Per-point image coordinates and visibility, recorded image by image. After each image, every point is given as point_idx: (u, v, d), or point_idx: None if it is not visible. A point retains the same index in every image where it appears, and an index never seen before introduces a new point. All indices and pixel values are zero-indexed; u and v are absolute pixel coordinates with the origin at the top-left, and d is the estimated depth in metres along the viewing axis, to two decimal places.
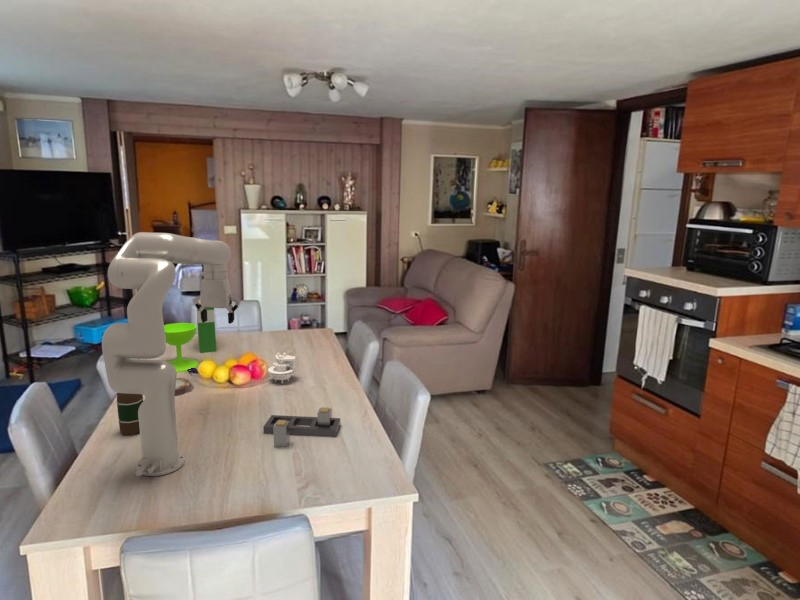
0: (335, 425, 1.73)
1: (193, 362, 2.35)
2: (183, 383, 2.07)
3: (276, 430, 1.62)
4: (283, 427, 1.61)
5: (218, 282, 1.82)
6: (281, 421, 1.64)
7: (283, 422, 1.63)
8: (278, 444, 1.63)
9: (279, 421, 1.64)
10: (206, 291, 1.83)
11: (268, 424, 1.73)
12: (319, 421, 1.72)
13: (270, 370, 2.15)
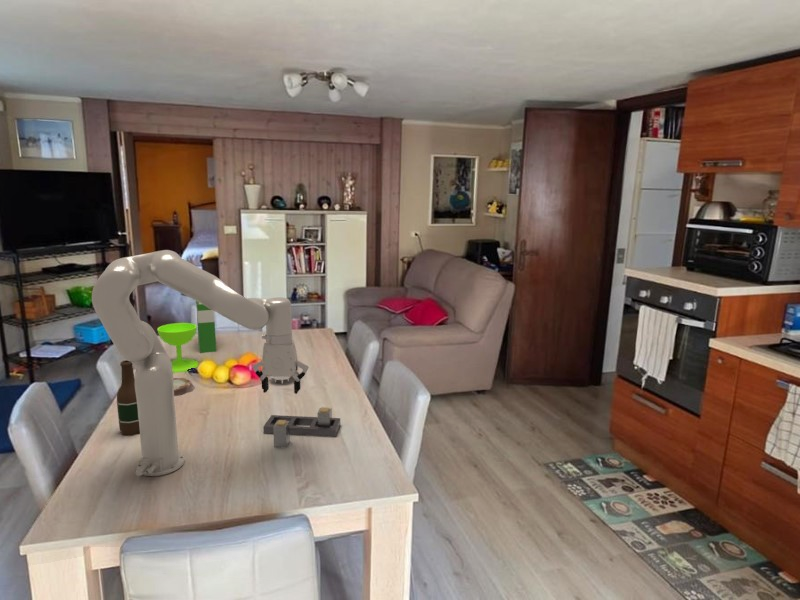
0: (335, 425, 1.73)
1: (193, 362, 2.35)
2: (184, 383, 2.07)
3: (276, 430, 1.62)
4: (283, 427, 1.61)
5: (283, 347, 1.55)
6: (281, 421, 1.64)
7: (283, 422, 1.63)
8: (278, 444, 1.63)
9: (279, 421, 1.64)
10: (270, 357, 1.56)
11: (268, 424, 1.73)
12: (319, 421, 1.72)
13: None
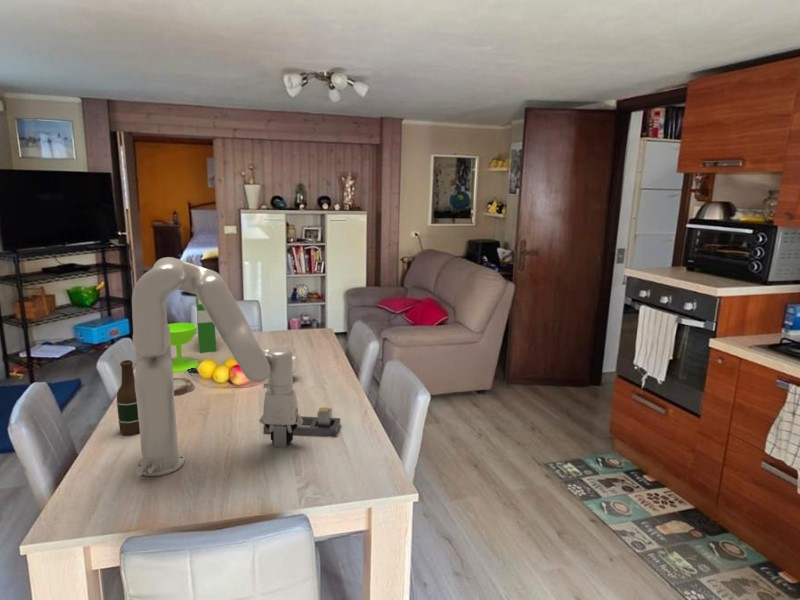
0: (335, 425, 1.73)
1: (193, 362, 2.35)
2: (184, 383, 2.07)
3: (276, 430, 1.62)
4: (283, 427, 1.61)
5: (284, 397, 1.59)
6: None
7: None
8: (278, 444, 1.63)
9: None
10: (271, 407, 1.59)
11: None
12: (319, 421, 1.72)
13: None
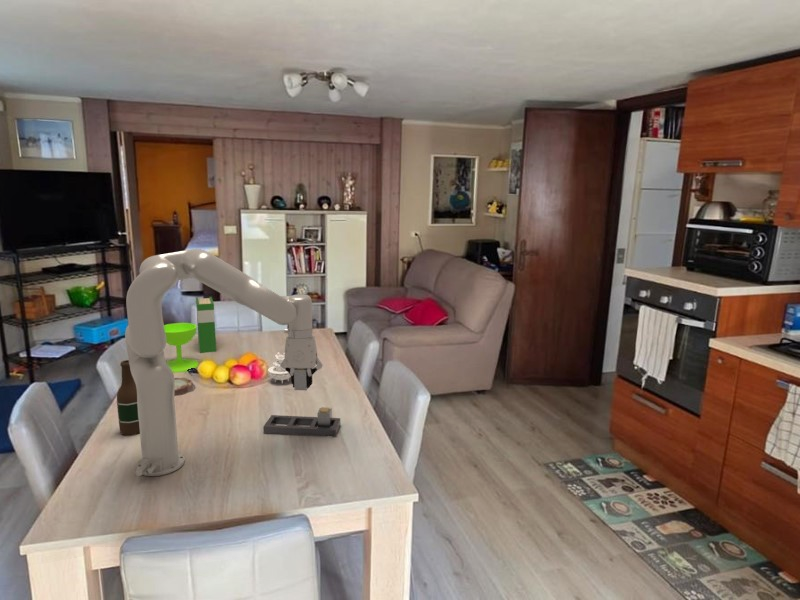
0: (335, 425, 1.73)
1: (193, 362, 2.35)
2: (185, 383, 2.07)
3: (296, 373, 1.69)
4: (303, 370, 1.69)
5: (305, 341, 1.66)
6: None
7: None
8: (298, 387, 1.70)
9: None
10: (291, 351, 1.67)
11: (268, 424, 1.73)
12: (319, 421, 1.72)
13: (270, 370, 2.15)
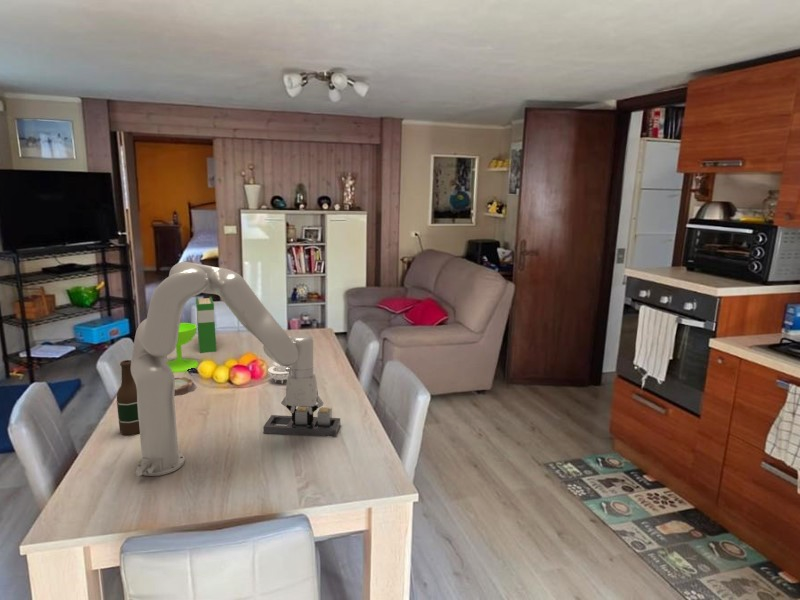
0: (335, 425, 1.73)
1: (193, 362, 2.35)
2: (186, 382, 2.08)
3: (297, 415, 1.72)
4: (304, 412, 1.72)
5: (306, 380, 1.69)
6: (302, 407, 1.74)
7: (304, 408, 1.73)
8: None
9: (300, 407, 1.74)
10: (293, 389, 1.70)
11: (268, 424, 1.73)
12: (319, 421, 1.72)
13: (270, 370, 2.15)
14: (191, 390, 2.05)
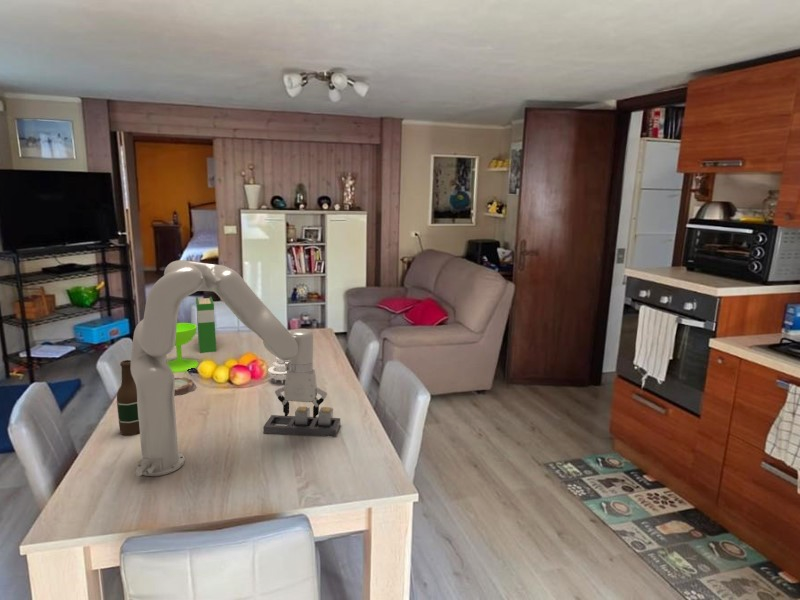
0: (335, 425, 1.73)
1: (193, 362, 2.35)
2: (186, 382, 2.08)
3: (297, 416, 1.72)
4: (304, 413, 1.72)
5: (305, 375, 1.68)
6: (302, 407, 1.74)
7: (304, 408, 1.73)
8: None
9: (300, 407, 1.74)
10: (292, 384, 1.69)
11: (268, 424, 1.73)
12: (320, 420, 1.72)
13: (270, 370, 2.15)
14: (191, 390, 2.05)
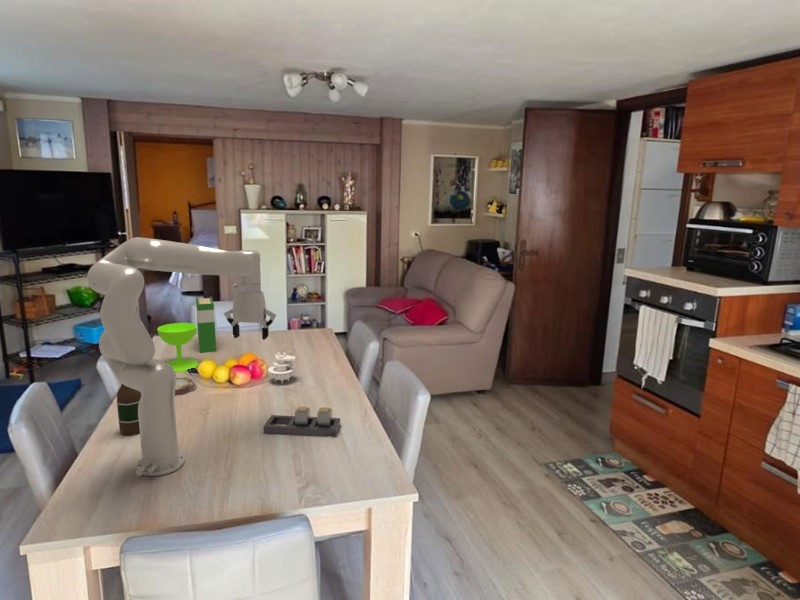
0: (335, 425, 1.73)
1: (193, 362, 2.35)
2: (186, 382, 2.08)
3: (297, 416, 1.72)
4: (304, 413, 1.72)
5: (252, 295, 1.69)
6: (302, 407, 1.74)
7: (304, 408, 1.73)
8: None
9: (300, 407, 1.74)
10: (239, 304, 1.70)
11: (268, 424, 1.73)
12: (319, 421, 1.72)
13: (270, 370, 2.15)
14: (192, 390, 2.05)
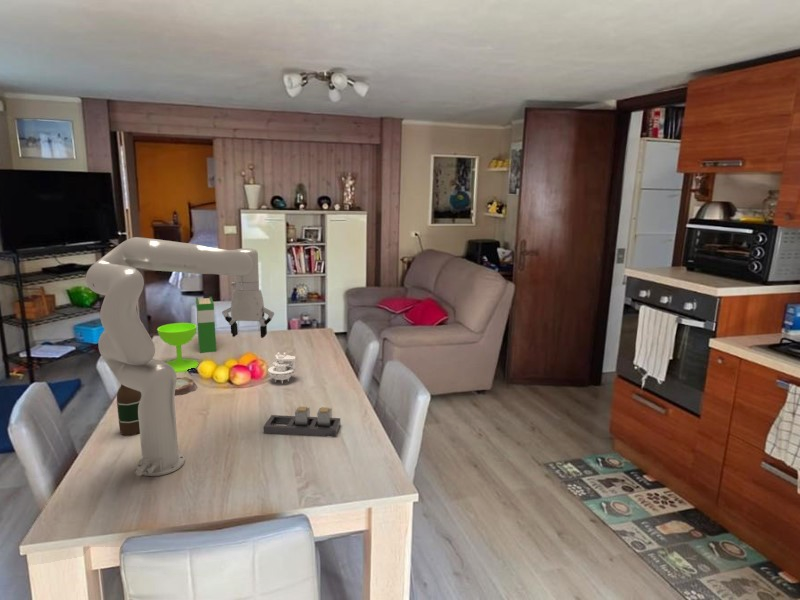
0: (335, 425, 1.73)
1: (193, 362, 2.35)
2: (187, 382, 2.08)
3: (297, 416, 1.72)
4: (304, 413, 1.72)
5: (250, 293, 1.69)
6: (302, 407, 1.74)
7: (304, 408, 1.73)
8: None
9: (300, 407, 1.74)
10: (238, 303, 1.70)
11: (268, 424, 1.73)
12: (319, 421, 1.72)
13: (270, 370, 2.15)
14: (192, 390, 2.05)
